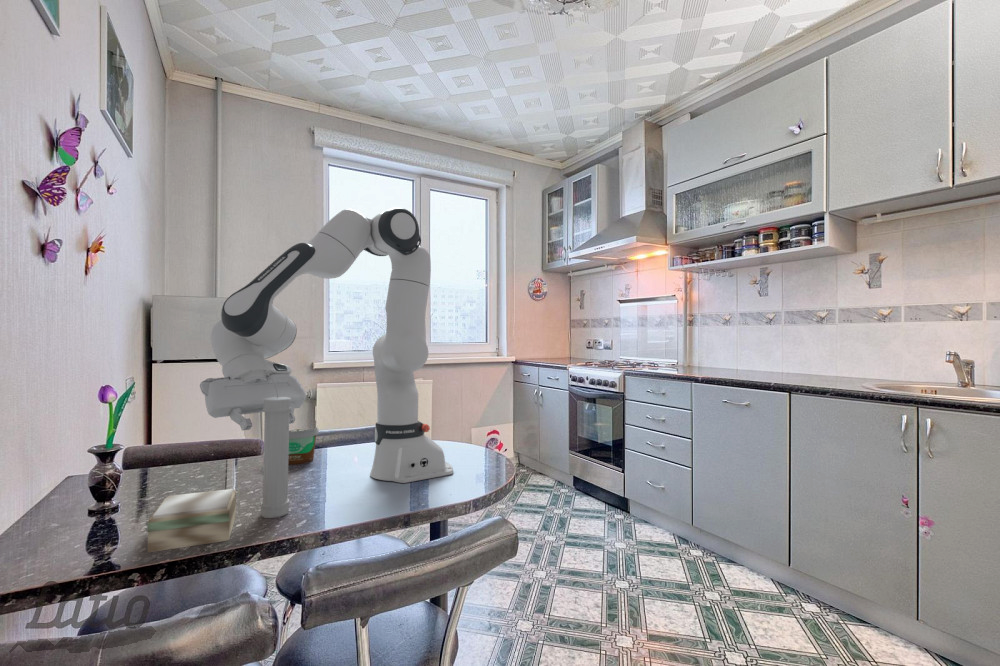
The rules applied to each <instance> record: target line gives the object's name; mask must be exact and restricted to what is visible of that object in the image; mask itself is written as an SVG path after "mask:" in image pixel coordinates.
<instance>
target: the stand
mask: <svg viewBox="0 0 1000 666" xmlns="http://www.w3.org/2000/svg"><path fill="white" fill-rule="evenodd" d="M236 511H237V490H236V489H235V490H234V488H227V489H219V490H210V491H202V492H191V493H182V494H173V495H167V496H166V497H165V498H164V499H163V501H162V502H161V503H160V505H159V506H158V507H157V508H156V510H155V511H154V512H153V514H152V515H151V516H150V517H149V519H148V520H147V521H148V523H147V553H153V552H161V551H167V550H173V549H180V548H188V547H194V546H201V545H208V544H213V543H219V542H227V541H228V542H229V541H230V537H231V534H232V530H233V527H234V523H235V521H236V518H237V514H236V513H237V512H236Z"/></svg>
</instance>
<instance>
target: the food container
mask: <svg viewBox="0 0 1000 666" xmlns="http://www.w3.org/2000/svg"><path fill="white" fill-rule="evenodd" d="M319 434H320V431H319V428H318V426H316V427H315V428H314V427H313V428H311V429H300V428H299V429H292V430H289V454H288V466H299V465H300V466H301V465H305V464H308V463H312V462H313V461H314V456H315V448H316V440H317V436H318V435H319Z"/></svg>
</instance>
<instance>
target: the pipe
mask: <svg viewBox="0 0 1000 666" xmlns="http://www.w3.org/2000/svg"><path fill="white" fill-rule="evenodd" d="M264 372H265V371H264ZM265 373H266V374H267V375H269V374H268V373H267V372H265ZM269 377H270V378H271V379H272V377H271V376H270V375H269ZM272 381H273V383H274V385H275V382H274V380H273V379H272ZM275 388H276V385H275ZM276 392H277V388H276ZM290 410H292V407H291V398H289V397H278V392H277V397H271V398H266V399H264V405H263V412H262V413H264V430H263V431H264V433H263V434H264V435H263V436H264V437H263V438H264V439H263V440H264V441H263V473H262V474H263V476H262V477H263V479H262V481H263V482H262V501H261V502H260V505H259V506H260V515H261V517H262V518H265V519H275V518H281V517H284V516H286V515H287V514H288V513H289V509H290V506H289V505H290V502H291V501H290V498H288V495H289V493H288V492H289V487H288V486H289V465H288V454H289V431H290V424H289V411H290Z"/></svg>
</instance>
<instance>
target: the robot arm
mask: <svg viewBox="0 0 1000 666" xmlns="http://www.w3.org/2000/svg"><path fill="white" fill-rule="evenodd" d="M421 243H422V238H421V235H420V227H419V224H418V221H417V218H416V216H415V215H414V214H413V213H412V212H411V211H410V210H408V209H406V208H402V207H392V208H388V209H386V210H384V211H382V212H380V213H378V214H376V215H375V216H374V217H372V218H368V217H367V216H365V215H364V214H363V213H361V212H360V211H358V210H355V209H352V208H346V209H342V210H341V211H338V213H337V214H336V215H334V216H332V218H331V219H330V220H328V221H327V222H326V223H325V224H324V225H323V226H322V227H321V229H320V230H319V231H318V233H316V235H315V236H314V237H313V238H311V239H310V240H308V241H306V242H299V243H297V244H294V245H293V246H291V247H289V248H288V249H287V250H285V251H284V252H283V253H282V254H281V255H279V256H278V257H277V258H276V259H275V260H273V261H272V262H271V264H269V265H268V266H266V268H265V269H264V270H262V271H261V272H260V273H259V274H258V275H257V276H255V278H254V279H252V280H251V281H250V282H249V283H247V284H246V285H245V286H243V287H241V288H240V289H238V290H236V291H235V292H233V293H232V294H231V295H229V296H228V297H227V298H226V300H225V301H224V303H223V305H222V306H221V307H222V308H221V312H220V313H221V315H220V316H221V320H218V321H217V322H216V323H215V324H214V325H213V327H212V329H211V331H210V332H211V333H210V342H211V346H212V349H213V353H214V355H215V358H216V361H217V362H218V364H220V365H221V371H222V375H223V377H216V378H215V377H209V378H206V379H205V380H202V381H201V382H200V384H199V388H200V392H201V394H203V396H204V401H205V402H204V403H205V406H206V411H207V415H209V416H210V417H212V418H213V419H216V418H224V417H226V418H227V417H230V418H229V419H230V420H231V421H233V422H234V423H235V424H237V425H239V426H240V429H241V431H249V430H251V428H252V427H253V422H252V421H251V418H246V417H245V416H244V415H251V414H258V413H264V412H263V405H264V399H266V398H271V397H277V392H278V397H289V398H291V407H292V410H290V411H289V425H290V424H294V423H295V421H296V416H295V414H294V412H295V409H300V408H301V407H302V405H303V404H304V403H305V401H306V398H307V393H306V391H305V389H304V387H303V385H302V384H301V383H300V381H299V379H298V378H297V377H296V376H294V375H293V374H292V368H291V367H290V366H289V365H287V364H282V363H278V362H273V361H271V360H267V359H269V358H272V357H274V356H276V355H278V354H280V353H282V352H283V351H285V350H287V349H288V348H289V347H291V345H293V343H294V341H295V339H296V337H297V330H298V329H297V325H296V324H295V322H294V321H293V320H292V319H290V318H289V317H288V316H287V314H285V313H284V312H283V311H281V310H280V309H278V308H277V306H275V305H274V304H273V303H274V300H275V298H276V297H277V296H278V295H279V294H281V293H282V292H283V291H284V290H285V289H286V288H287V287H288V286H289V285H290V284H291V283H292V282H293V281H294V280H295V279H296V278H298V277H300V276H302V275H306V274H308V275H312V276H315V277H319V278H321V279H329V280H331V279H336V278H339V277H341V276H343V275H344V274H345V273H347V271H348V270H349V269H350V268H351V267H352V265H353V264H354V262H355V261H356V260H357V259H358V257H359V256H360V254H361V253H362V252H363V251H365V252H366V253H367V252H368V254H371V255H373V256H377V257H386V256H388V257H389V259H390V262H391V273H390V278H389V283H388V289H387V295H386V303H385V313H386V333H384V334H383V335H381V336H380V337H379V338H378V339H376V341H375V342H374V344H373V346H372V356H373V364H374V365H373V366H374V375H375V383H376V390H377V391H376V394H377V409H376V411H377V414H376V415H377V416H376V418H377V419H376V422H375V428H374V441H375V448H374V449H375V450H374V456H373V461H372V465H371V470H370V473H369V476H370V477H371V478H373V479H376V480H380V481H388V482H395V483H401V484H407V483H410V482H411V483H413V482H416V481H422V480H427V479H429V480H430V479H433V478H438V477H439V478H440V477H445V476H449V475H452V474H453V473H454V468H453V466H452V464H450V463H449V462H447V461H446V459H445V457H446V456H445V452H444V450H443V448H442V447H441V446H440V445H438V444H437V443H436V441H434V440H433V439H431V438H429V437H428V436H427V435H425V433H428V432H429V431H430V430H431V427H430V426H431V425H430V426H429V424H428V423H423V422H421V421H420V420H419V392H418V388H417V385H416V379H415V374H414V372H415V371H418V370H420V369H421V368H423V367H424V365H426V363H427V361H428V358H429V348H428V345H427V336H426V333H427V331H426V311H427V307H428V306H427V305H428V298H429V291H430V286H431V285H430V283H431V275H432V274H431V271H432V270H431V269H432V268H431V267H432V266H431V265H432V263H431V255H430V253H429V251H428V250H427V249H426V248H424V246H421ZM264 371H265V372H267V373H268V374H269V375H270V376H271V377H272V379H273V380H274V382H275V385H276V388H277V392H276V388H275V385H274V383H273V381H272V379H271V378H270V377H269V375H267V374H266V373H265V372H264Z"/></svg>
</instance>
